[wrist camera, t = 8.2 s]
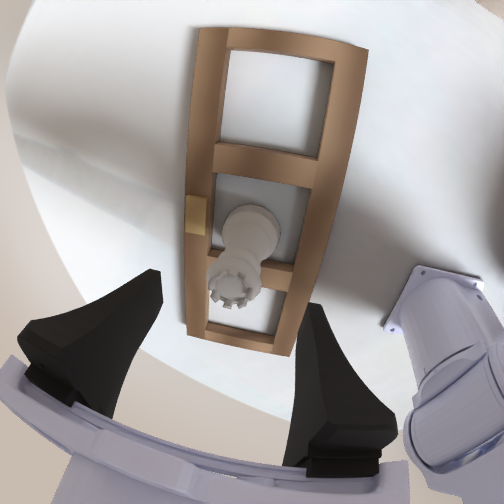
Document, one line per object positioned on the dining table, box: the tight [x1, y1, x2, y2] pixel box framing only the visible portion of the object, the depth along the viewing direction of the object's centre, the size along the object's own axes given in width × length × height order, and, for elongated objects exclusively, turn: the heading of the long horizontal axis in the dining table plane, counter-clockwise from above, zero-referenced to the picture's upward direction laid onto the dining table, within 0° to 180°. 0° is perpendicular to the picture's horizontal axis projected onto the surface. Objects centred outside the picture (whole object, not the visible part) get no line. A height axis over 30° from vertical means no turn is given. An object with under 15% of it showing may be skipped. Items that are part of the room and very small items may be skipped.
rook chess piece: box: [206, 204, 281, 309], centre depth 19 cm, size 4×4×8 cm
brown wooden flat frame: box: [184, 28, 369, 357], centre depth 21 cm, size 11×28×2 cm, turn 173°
